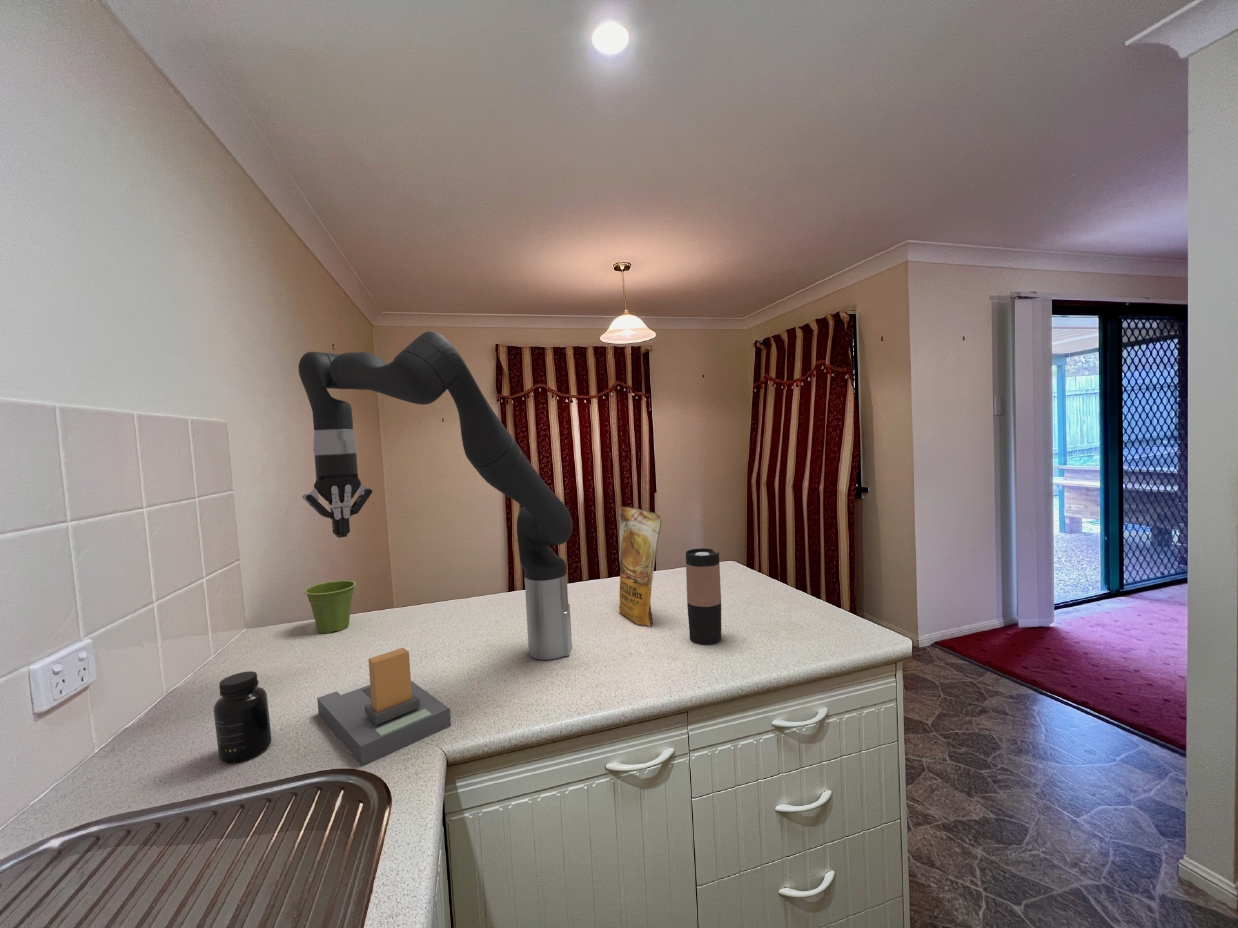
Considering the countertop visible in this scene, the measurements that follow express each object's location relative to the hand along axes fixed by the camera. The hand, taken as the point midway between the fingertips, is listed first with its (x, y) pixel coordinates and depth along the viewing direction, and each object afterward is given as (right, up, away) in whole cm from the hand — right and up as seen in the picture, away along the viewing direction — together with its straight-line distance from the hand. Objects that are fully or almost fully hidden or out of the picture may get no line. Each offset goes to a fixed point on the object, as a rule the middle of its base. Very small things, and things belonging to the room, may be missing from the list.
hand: (341, 536), depth 106 cm
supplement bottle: (-2, -31, -24) cm, 39 cm away
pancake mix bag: (+62, -25, +28) cm, 72 cm away
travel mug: (+76, -25, +12) cm, 81 cm away
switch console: (+16, -29, -17) cm, 37 cm away
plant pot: (-18, -29, +30) cm, 45 cm away
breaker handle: (+19, -26, -21) cm, 38 cm away
